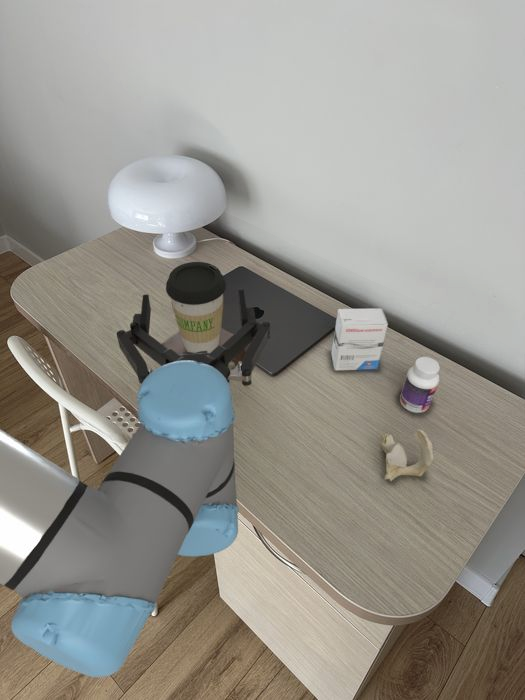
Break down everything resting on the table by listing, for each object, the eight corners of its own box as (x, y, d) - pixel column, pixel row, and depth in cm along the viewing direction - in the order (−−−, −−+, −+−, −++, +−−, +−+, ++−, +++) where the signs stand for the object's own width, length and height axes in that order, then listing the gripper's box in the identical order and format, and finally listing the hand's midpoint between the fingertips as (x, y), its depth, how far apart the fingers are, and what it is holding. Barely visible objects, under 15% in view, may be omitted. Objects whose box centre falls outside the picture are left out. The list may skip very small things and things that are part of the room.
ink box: (372, 352, 98) (383, 306, 90) (377, 370, 95) (389, 324, 87) (330, 353, 98) (337, 307, 90) (334, 371, 94) (341, 325, 86)
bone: (357, 463, 78) (390, 413, 74) (373, 453, 83) (404, 407, 79) (402, 500, 74) (439, 449, 70) (416, 488, 79) (450, 440, 75)
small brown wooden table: (161, 374, 93) (156, 347, 88) (203, 342, 100) (200, 315, 95) (205, 403, 88) (202, 377, 83) (246, 367, 95) (246, 341, 90)
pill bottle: (428, 417, 87) (442, 379, 80) (397, 409, 88) (409, 371, 81) (430, 395, 90) (445, 357, 84) (401, 388, 91) (413, 350, 85)
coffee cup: (163, 343, 89) (152, 275, 79) (205, 319, 94) (199, 252, 84) (197, 371, 84) (190, 303, 74) (239, 344, 89) (238, 277, 79)
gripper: (92, 441, 57) (111, 324, 72) (301, 425, 60) (278, 314, 75) (76, 400, 52) (101, 282, 67) (306, 384, 54) (280, 274, 70)
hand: (194, 299), depth 71 cm, fingers open, 13 cm apart
